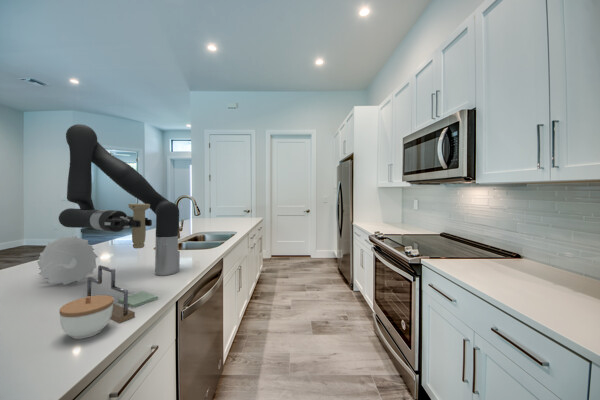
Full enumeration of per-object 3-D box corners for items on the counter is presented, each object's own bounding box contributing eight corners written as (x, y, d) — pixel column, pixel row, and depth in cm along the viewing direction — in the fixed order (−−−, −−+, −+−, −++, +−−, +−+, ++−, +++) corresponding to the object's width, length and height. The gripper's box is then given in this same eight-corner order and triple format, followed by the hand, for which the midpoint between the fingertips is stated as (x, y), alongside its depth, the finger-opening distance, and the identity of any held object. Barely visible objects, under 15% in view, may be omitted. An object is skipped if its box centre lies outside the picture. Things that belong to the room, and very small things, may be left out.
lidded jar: (93, 344, 59) (94, 305, 59) (46, 345, 58) (46, 306, 58) (122, 321, 70) (122, 289, 70) (82, 322, 69) (82, 289, 69)
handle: (141, 249, 81) (142, 204, 80) (124, 248, 82) (125, 203, 81) (152, 246, 85) (153, 204, 85) (136, 245, 86) (136, 203, 86)
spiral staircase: (79, 278, 115) (84, 291, 97) (28, 269, 103) (24, 281, 86) (100, 241, 121) (109, 247, 103) (55, 228, 109) (56, 232, 92)
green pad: (142, 293, 89) (142, 291, 89) (157, 299, 85) (157, 296, 85) (118, 301, 82) (118, 298, 82) (133, 308, 78) (133, 304, 78)
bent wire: (94, 299, 84) (95, 260, 83) (134, 317, 72) (135, 271, 72) (80, 304, 80) (80, 263, 80) (119, 323, 69) (120, 275, 69)
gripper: (87, 211, 81) (125, 213, 76) (128, 209, 94) (163, 211, 89) (86, 233, 81) (124, 237, 76) (128, 228, 94) (162, 231, 89)
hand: (145, 223), depth 83 cm, fingers closed on handle, 3 cm apart
